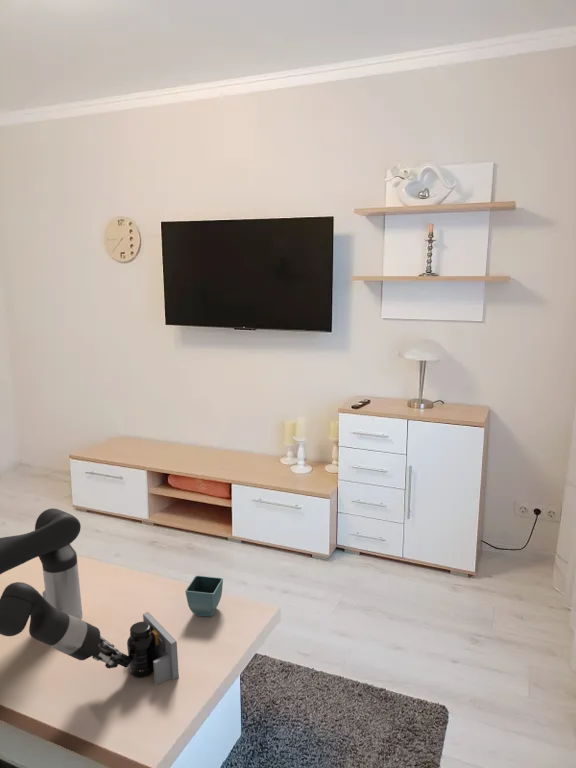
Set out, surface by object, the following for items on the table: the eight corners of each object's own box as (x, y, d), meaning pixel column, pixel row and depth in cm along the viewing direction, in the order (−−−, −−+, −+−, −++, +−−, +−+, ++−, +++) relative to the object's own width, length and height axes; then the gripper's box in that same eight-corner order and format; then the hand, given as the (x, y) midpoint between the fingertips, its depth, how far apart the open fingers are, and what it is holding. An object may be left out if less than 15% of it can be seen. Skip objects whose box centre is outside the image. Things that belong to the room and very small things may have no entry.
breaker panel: (158, 687, 137) (155, 650, 135) (131, 654, 149) (128, 619, 147) (178, 677, 140) (176, 641, 138) (150, 645, 152) (148, 611, 150)
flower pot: (215, 622, 162) (213, 593, 160) (186, 619, 164) (184, 590, 162) (224, 605, 170) (223, 577, 169) (196, 602, 172) (195, 575, 171)
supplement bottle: (132, 661, 146) (129, 619, 144) (159, 659, 146) (156, 618, 144) (126, 679, 139) (122, 636, 137) (154, 678, 140) (151, 634, 137)
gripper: (54, 637, 134) (108, 662, 143) (72, 667, 123) (129, 691, 133) (75, 609, 136) (127, 635, 146) (94, 635, 126) (149, 662, 135)
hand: (128, 662), depth 139 cm, fingers closed
